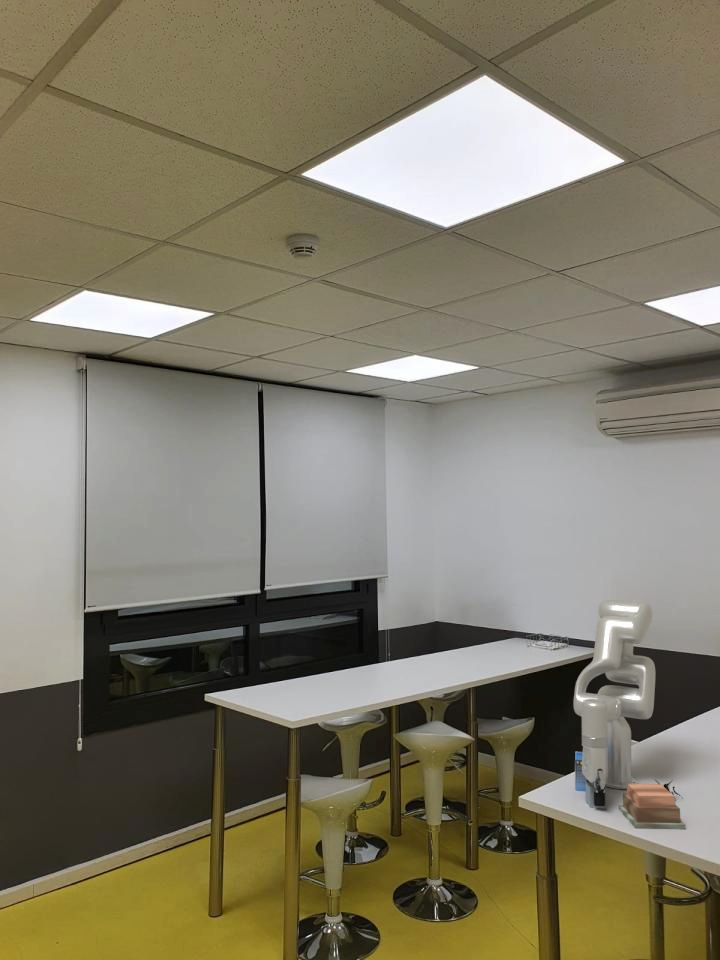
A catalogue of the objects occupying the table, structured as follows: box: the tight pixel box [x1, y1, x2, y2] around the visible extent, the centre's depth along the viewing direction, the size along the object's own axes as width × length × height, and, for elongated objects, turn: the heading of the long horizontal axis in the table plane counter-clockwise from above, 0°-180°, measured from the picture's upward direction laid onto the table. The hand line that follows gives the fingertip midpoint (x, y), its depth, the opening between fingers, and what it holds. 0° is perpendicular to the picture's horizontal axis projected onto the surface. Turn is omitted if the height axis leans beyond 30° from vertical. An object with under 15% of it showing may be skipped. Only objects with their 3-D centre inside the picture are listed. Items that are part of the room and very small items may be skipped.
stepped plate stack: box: [618, 783, 686, 830], centre depth 212 cm, size 14×14×8 cm
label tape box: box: [574, 751, 599, 792], centre depth 235 cm, size 9×4×12 cm, turn 74°
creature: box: [654, 779, 684, 802], centre depth 229 cm, size 8×5×8 cm
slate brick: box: [585, 782, 606, 809], centre depth 222 cm, size 4×4×7 cm
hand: (595, 800), depth 222 cm, fingers open, 7 cm apart
